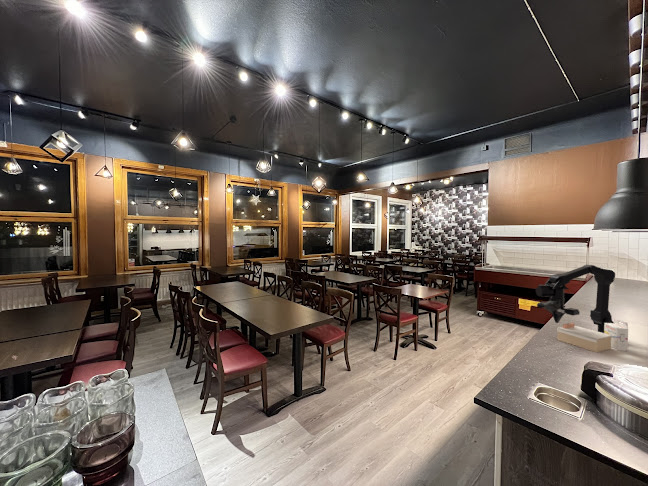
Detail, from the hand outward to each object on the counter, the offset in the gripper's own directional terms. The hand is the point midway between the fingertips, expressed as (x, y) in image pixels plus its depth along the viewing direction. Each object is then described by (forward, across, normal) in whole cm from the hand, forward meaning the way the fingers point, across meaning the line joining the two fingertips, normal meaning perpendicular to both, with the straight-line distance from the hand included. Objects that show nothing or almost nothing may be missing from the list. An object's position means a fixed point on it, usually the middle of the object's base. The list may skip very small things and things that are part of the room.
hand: (556, 322), depth 157 cm
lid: (+3, +12, 0) cm, 13 cm away
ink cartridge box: (+8, +21, +10) cm, 25 cm away
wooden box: (+8, +12, 0) cm, 15 cm away
